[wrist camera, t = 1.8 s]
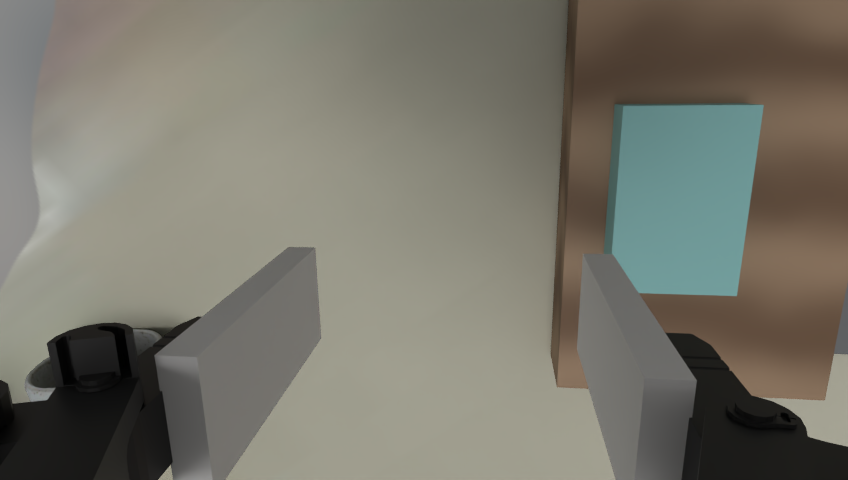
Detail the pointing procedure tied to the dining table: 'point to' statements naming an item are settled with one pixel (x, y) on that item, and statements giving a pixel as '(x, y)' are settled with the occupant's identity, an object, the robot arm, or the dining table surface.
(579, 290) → the board
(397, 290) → the dining table surface
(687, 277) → the card
